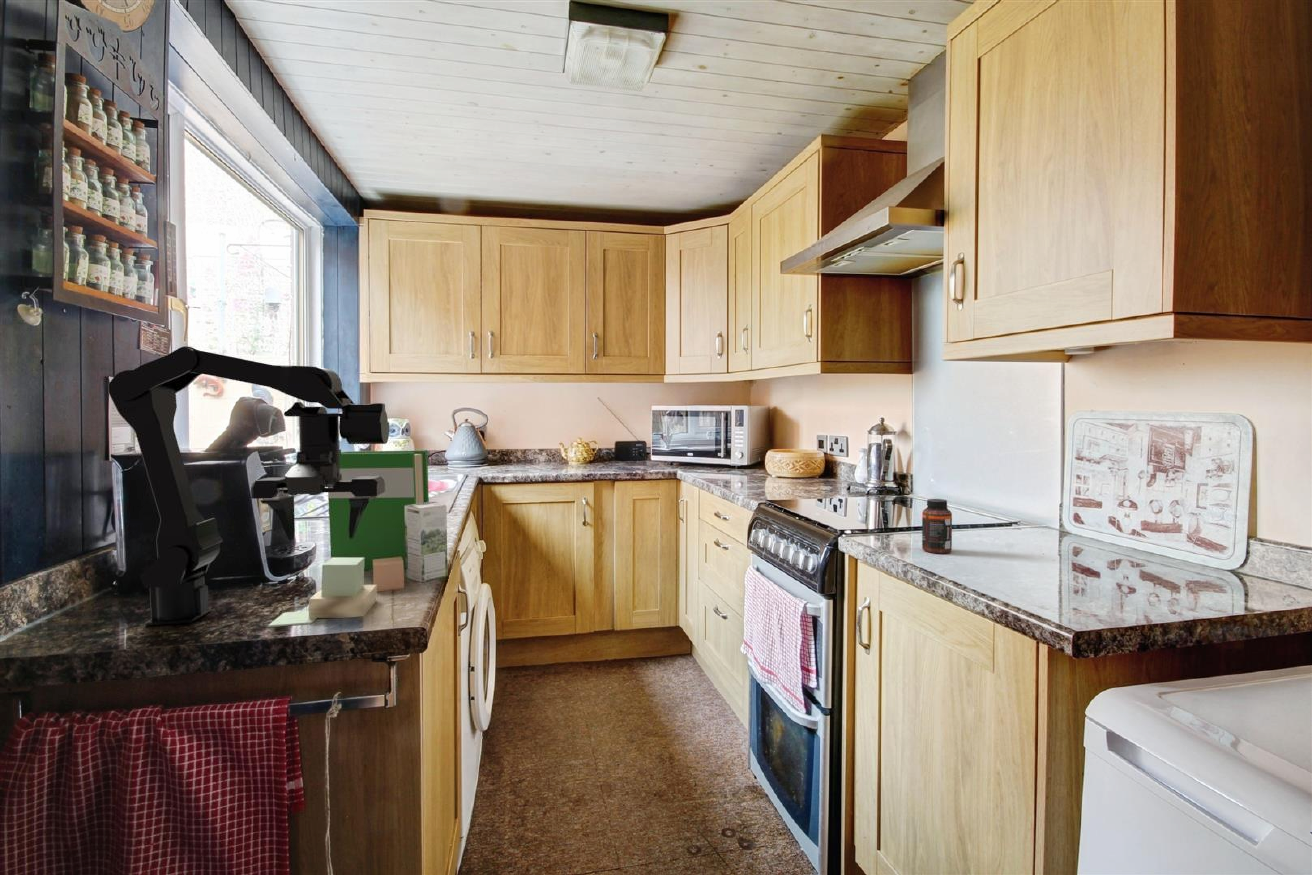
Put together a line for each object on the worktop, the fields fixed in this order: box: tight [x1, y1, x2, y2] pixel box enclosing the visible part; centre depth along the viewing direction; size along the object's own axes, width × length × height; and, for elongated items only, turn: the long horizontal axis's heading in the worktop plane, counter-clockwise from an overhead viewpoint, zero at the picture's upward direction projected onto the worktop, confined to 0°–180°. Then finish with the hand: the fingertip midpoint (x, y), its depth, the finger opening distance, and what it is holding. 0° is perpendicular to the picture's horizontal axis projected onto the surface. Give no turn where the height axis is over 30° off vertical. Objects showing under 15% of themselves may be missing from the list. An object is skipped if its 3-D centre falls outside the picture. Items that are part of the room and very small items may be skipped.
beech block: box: [308, 584, 378, 619], centre depth 103 cm, size 8×8×3 cm
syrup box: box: [405, 501, 449, 583], centre depth 122 cm, size 6×6×14 cm
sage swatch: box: [268, 610, 318, 628], centre depth 99 cm, size 6×6×1 cm
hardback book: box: [327, 450, 430, 570], centre depth 131 cm, size 18×7×24 cm, turn 88°
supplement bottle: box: [921, 498, 953, 554], centre depth 138 cm, size 6×6×11 cm
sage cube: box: [321, 557, 365, 596], centre depth 103 cm, size 5×5×5 cm
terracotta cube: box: [372, 557, 405, 592], centre depth 116 cm, size 5×5×5 cm
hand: (321, 539), depth 103 cm, fingers open, 9 cm apart
